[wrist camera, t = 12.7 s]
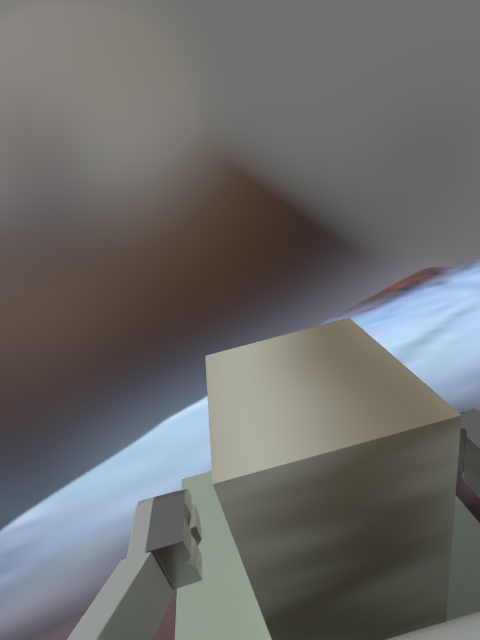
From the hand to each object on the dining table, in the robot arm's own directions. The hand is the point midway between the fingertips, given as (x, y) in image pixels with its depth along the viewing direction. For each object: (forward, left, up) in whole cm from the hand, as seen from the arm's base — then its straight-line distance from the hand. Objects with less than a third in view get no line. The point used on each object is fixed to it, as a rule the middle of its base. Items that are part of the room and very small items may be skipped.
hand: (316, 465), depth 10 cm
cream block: (0, 0, -6) cm, 7 cm away
